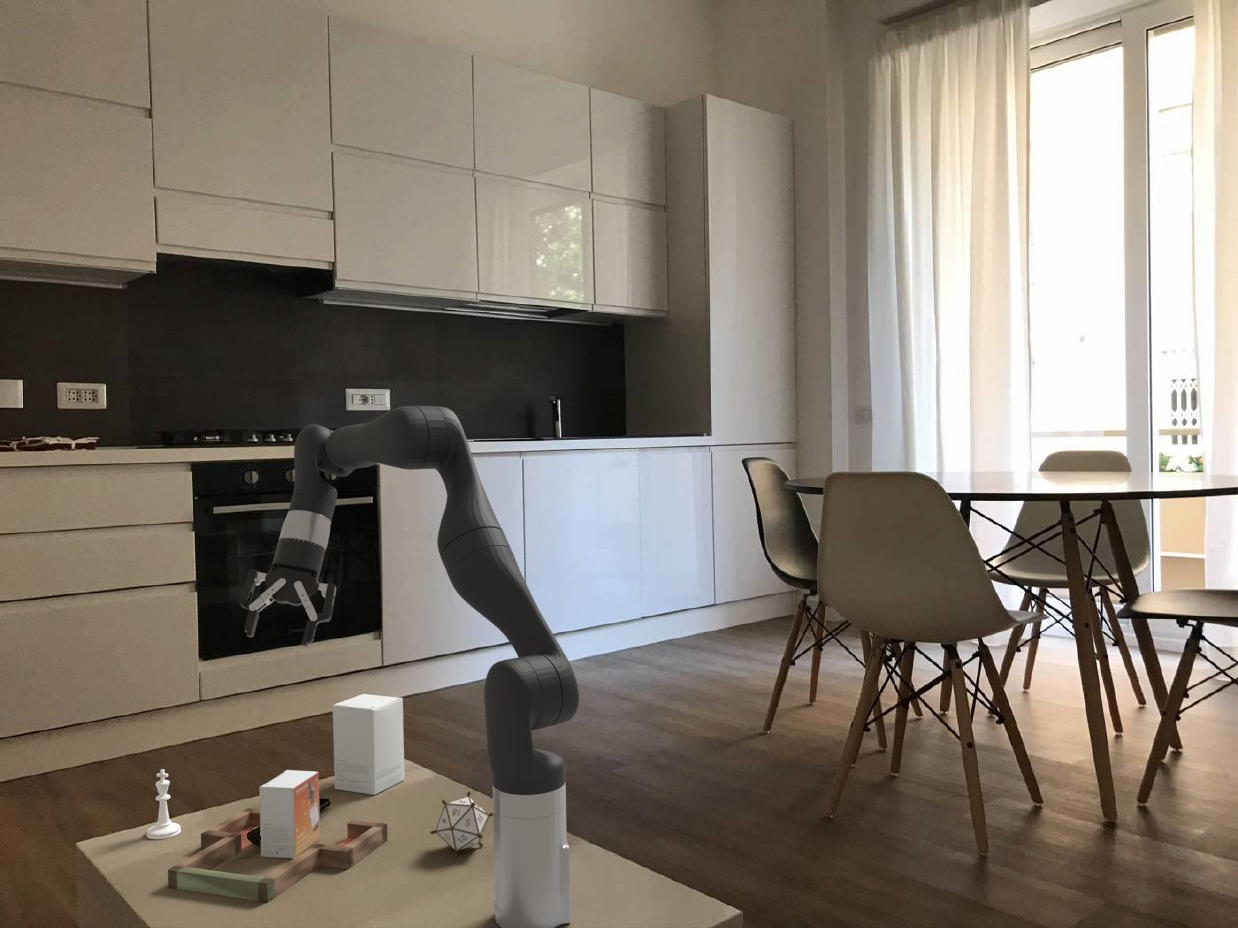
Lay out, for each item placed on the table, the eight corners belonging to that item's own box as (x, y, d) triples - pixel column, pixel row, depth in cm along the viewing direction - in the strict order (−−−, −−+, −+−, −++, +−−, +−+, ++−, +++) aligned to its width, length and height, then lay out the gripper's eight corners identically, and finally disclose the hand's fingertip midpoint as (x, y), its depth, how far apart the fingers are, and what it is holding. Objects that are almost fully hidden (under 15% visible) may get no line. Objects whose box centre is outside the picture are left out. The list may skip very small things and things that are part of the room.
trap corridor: (248, 823, 164) (248, 807, 164) (387, 839, 157) (387, 823, 156) (141, 883, 142) (141, 865, 142) (297, 906, 135) (296, 887, 135)
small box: (294, 860, 150) (293, 788, 149) (259, 857, 151) (258, 786, 150) (321, 838, 157) (320, 770, 157) (287, 836, 159) (286, 768, 158)
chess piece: (169, 840, 158) (167, 775, 157) (139, 838, 158) (138, 774, 158) (187, 827, 163) (185, 765, 162) (158, 826, 163) (157, 764, 163)
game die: (451, 877, 152) (409, 829, 150) (471, 837, 159) (431, 791, 157) (495, 857, 148) (452, 808, 146) (513, 816, 156) (472, 769, 154)
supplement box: (406, 780, 184) (405, 696, 184) (374, 796, 176) (373, 709, 175) (365, 773, 188) (364, 692, 187) (332, 789, 180) (331, 704, 179)
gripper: (254, 529, 164) (226, 629, 158) (344, 545, 165) (320, 644, 159) (262, 541, 171) (235, 637, 165) (348, 556, 172) (325, 652, 166)
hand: (277, 641), depth 162 cm, fingers open, 8 cm apart
